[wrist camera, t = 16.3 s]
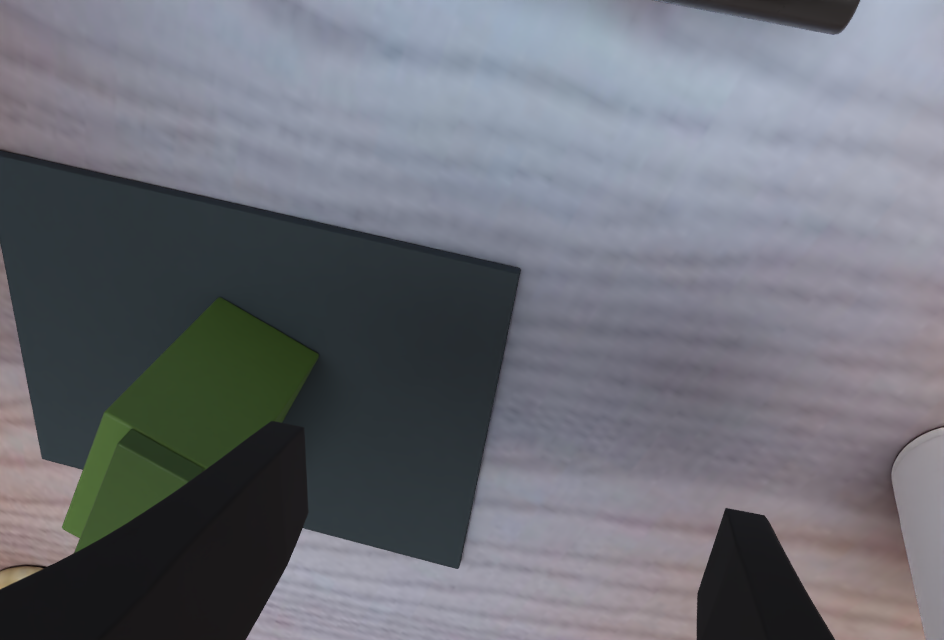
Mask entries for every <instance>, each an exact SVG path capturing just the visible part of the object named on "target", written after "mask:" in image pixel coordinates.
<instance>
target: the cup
mask: <svg viewBox="0 0 944 640" xmlns="http://www.w3.org/2000/svg"><path fill="white" fill-rule="evenodd" d="M891 480H892V485H893V490H894V495H895V500H896V504H897V509H898V513H899V518H900V525H901V530H902V534H903V539H904V544H905V548H906V553H907V557H908V562H909V566H910V571H911V575H912V580H913V584H914V589H915V593H916V598H917V602H918V607H919V611H920V616H921V620H922V625H923V629H924V634H925V638H926V640H944V427H942V428H939V429H935V430H932V431H930V432H928V433H925V434H923V435H921V436H920V437H918V438H916V439H915V440H913V441H912V442H911V443H909V444H908V445H907V446H906V447H905V448H904V449H903V450H902V451H901V452H900V454H899V455H898V457H897V458H896V460H895V462H894V465H893V468H892V473H891Z"/></svg>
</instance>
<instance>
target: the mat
mask: <svg viewBox="0 0 944 640" xmlns="http://www.w3.org/2000/svg"><path fill="white" fill-rule="evenodd" d="M0 243H1V248H2V253H3V259H4V264H5V269H6V274H7V279H8V285H9V290H10V295H11V300H12V305H13V311H14V316H15V321H16V326H17V331H18V336H19V342H20V347H21V352H22V357H23V362H24V368H25V373H26V378H27V383H28V388H29V393H30V399H31V404H32V409H33V414H34V419H35V425H36V430H37V435H38V440H39V445H40V451H41V456H42V459H45V460H48V461H52V462H56V463H60V464H63V465H67V466H71V467H75V468H78V469H82V470H83V469H84V466H85V463H86V460H87V458H88V455H89V452H90V450H91V447H92V444H93V441H94V439H95V436H96V433H97V431H98V428H99V425H100V422H101V420H102V417H103V414H104V412H105V411H106V410H107V409H108V408H109V407H110V406H111V405H112V404H113V403H114V402H115V401H116V400H117V399H118V398H119V397H120V396H121V395H122V394H123V393H124V392H125V391H126V390H127V389H128V388H129V387H130V386H131V385H132V384H133V383H134V382H135V381H136V380H137V379H138V378H139V377H140V376H141V375H142V374H143V373H144V372H145V371H146V370H147V369H148V368H149V367H150V366H151V365H152V364H153V363H154V362H155V361H156V360H157V359H158V358H159V357H160V356H161V355H162V354H163V353H164V352H165V351H166V349H167V348H168V347H169V346H170V345H171V344H172V343H173V342H174V341H175V340H176V339H177V338H178V337H179V336H180V335H181V334H182V333H183V332H184V331H185V330H186V329H187V328H188V327H189V326H190V325H191V324H192V323H193V322H194V321H195V320H196V319H197V318H198V317H199V316H200V315H201V314H202V313H203V312H204V311H205V310H206V309H207V308H208V307H209V306H210V305H211V304H212V303H213V302H214V301H215V300H216V299H217V298H219V297H221V298H223V299H225V300H226V301H228V302H230V303H232V304H233V305H235V306H237V307H238V308H240V309H242V310H244V311H245V312H247V313H249V314H250V315H252V316H254V317H256V318H257V319H259V320H261V321H263V322H264V323H266V324H268V325H269V326H271V327H273V328H275V329H276V330H278V331H280V332H282V333H283V334H285V335H287V336H288V337H290V338H292V339H294V340H295V341H297V342H299V343H301V344H302V345H304V346H306V347H307V348H309V349H311V350H313V351H314V352H316V353H318V354H319V358H318V359H317V361H316V363H315V365H314V366H313V368H312V370H311V372H310V374H309V375H308V377H307V379H306V381H305V383H304V384H303V386H302V388H301V390H300V391H299V393H298V395H297V397H296V399H295V400H294V402H293V404H292V406H291V408H290V409H289V411H288V413H287V415H286V416H285V418H284V420H283V422H282V423H285V424H291V425H296V426H301V427H304V431H305V451H306V471H307V491H308V512H309V513H308V515H307V518H306V520H305V523H304V526H303V528H305V529H309V530H312V531H316V532H320V533H324V534H327V535H331V536H335V537H339V538H342V539H346V540H350V541H354V542H358V543H361V544H365V545H369V546H373V547H376V548H380V549H384V550H388V551H391V552H395V553H399V554H403V555H407V556H410V557H414V558H418V559H422V560H425V561H429V562H433V563H437V564H440V565H444V566H448V567H452V568H456V569H458V568H459V566H460V562H461V558H462V553H463V548H464V543H465V538H466V533H467V528H468V524H469V519H470V514H471V509H472V504H473V499H474V494H475V489H476V485H477V480H478V475H479V470H480V465H481V460H482V455H483V451H484V446H485V441H486V436H487V431H488V426H489V421H490V417H491V412H492V407H493V402H494V397H495V392H496V387H497V382H498V378H499V373H500V368H501V363H502V358H503V353H504V348H505V344H506V339H507V334H508V329H509V324H510V319H511V314H512V310H513V305H514V300H515V295H516V290H517V285H518V280H519V276H520V271H521V270H520V268H516V267H512V266H507V265H503V264H498V263H494V262H490V261H485V260H481V259H476V258H472V257H468V256H463V255H459V254H454V253H450V252H446V251H441V250H437V249H432V248H428V247H423V246H419V245H415V244H410V243H406V242H401V241H397V240H393V239H388V238H384V237H379V236H375V235H371V234H366V233H362V232H357V231H353V230H349V229H344V228H340V227H335V226H331V225H327V224H322V223H318V222H313V221H309V220H304V219H300V218H296V217H291V216H287V215H282V214H278V213H274V212H269V211H265V210H260V209H256V208H252V207H247V206H243V205H238V204H234V203H230V202H225V201H221V200H216V199H212V198H207V197H203V196H199V195H194V194H190V193H185V192H181V191H177V190H172V189H168V188H163V187H159V186H155V185H150V184H146V183H141V182H137V181H133V180H128V179H124V178H119V177H115V176H111V175H106V174H102V173H97V172H93V171H88V170H84V169H80V168H75V167H71V166H66V165H62V164H58V163H53V162H49V161H44V160H40V159H36V158H31V157H27V156H22V155H18V154H14V153H9V152H5V151H0Z"/></svg>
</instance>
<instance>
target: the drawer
mask: <svg viewBox="0 0 944 640" xmlns="http://www.w3.org/2000/svg"><path fill="white" fill-rule="evenodd" d="M654 1H660V2H665V3H670V4H675V5H680V6H686V7H691V8H696V9H701V10H707V11H712V12H717V13H722V14H728V15H733V16H738V17H743V18H748V19H754V20H759V21H764V22H769V23H775V24H780V25H785V26H790V27H795V28H801V29H806V30H811V31H816V32H822V33H827V34H832V35H835V34H839V33H841V32H842V31H843V30H844V29H845V27H846V26H847V25H848V23H849V22H850V20H851V18H852V17H853V15H854V13H855V11H856V9H857V7H858V4H859V2H860V0H654Z"/></svg>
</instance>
